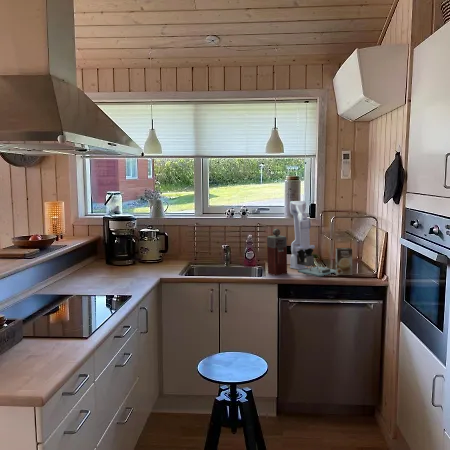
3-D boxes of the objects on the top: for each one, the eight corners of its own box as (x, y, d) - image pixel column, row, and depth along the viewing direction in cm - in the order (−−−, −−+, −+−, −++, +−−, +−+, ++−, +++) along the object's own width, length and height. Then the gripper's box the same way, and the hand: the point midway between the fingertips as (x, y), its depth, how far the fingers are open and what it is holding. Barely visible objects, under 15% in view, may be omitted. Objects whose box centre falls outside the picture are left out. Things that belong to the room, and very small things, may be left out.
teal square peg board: (297, 272, 283) (297, 266, 282) (318, 267, 293) (318, 262, 292) (319, 276, 268) (319, 271, 268) (339, 272, 278) (339, 266, 278)
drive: (297, 263, 276) (297, 254, 276) (302, 262, 279) (301, 253, 278) (308, 266, 268) (308, 256, 267) (313, 265, 270) (313, 255, 270)
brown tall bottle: (277, 276, 274) (276, 230, 271) (267, 272, 284) (266, 228, 281) (289, 274, 278) (288, 229, 275) (279, 271, 288) (278, 227, 285)
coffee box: (336, 275, 269) (336, 249, 267) (335, 273, 275) (335, 247, 273) (352, 275, 268) (352, 249, 266) (350, 273, 274) (350, 247, 272)
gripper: (300, 241, 264) (301, 264, 266) (318, 238, 272) (318, 260, 274) (292, 240, 270) (292, 262, 272) (309, 237, 278) (310, 259, 280)
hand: (305, 261), depth 273 cm, fingers closed on drive, 4 cm apart
